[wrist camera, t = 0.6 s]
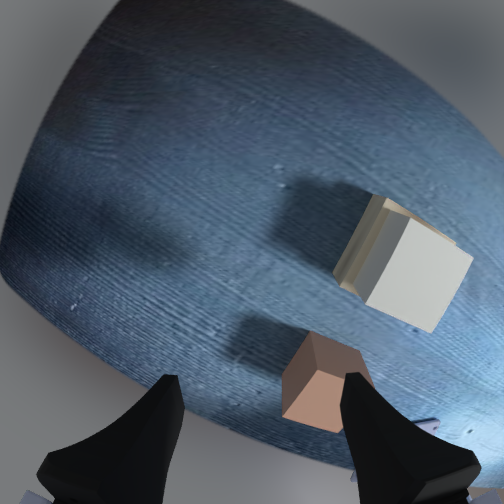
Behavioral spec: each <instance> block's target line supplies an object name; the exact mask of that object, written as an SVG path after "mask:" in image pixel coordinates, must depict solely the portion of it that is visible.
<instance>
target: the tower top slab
mask: <svg viewBox="0 0 504 504" xmlns="http://www.w3.org/2000/svg"><path fill="white" fill-rule="evenodd" d="M472 260H473V257H471V256H470V255H468V254H467V253H466V252H464V251H463V250H461V249H460V248H458V247H457V246H455V245H454V244H452V243H451V242H449V241H447V240H446V239H444V238H443V237H441V236H440V235H438V234H437V233H435V232H433V231H432V230H430V229H429V228H427V227H425V226H424V225H422V224H420V223H419V222H417V221H415V220H414V219H412V218H410V217H408V216H405V215H403V214H400V213H397V212H395V211H392V210H390V212H389V214H388V216H387V218H386V220H385V222H384V224H383V226H382V228H381V230H380V232H379V234H378V236H377V238H376V240H375V242H374V244H373V246H372V248H371V250H370V252H369V254H368V256H367V258H366V260H365V262H364V264H363V266H362V267H361V269H360V271H359V273H358V275H357V277H356V279H355V280H354V282H353V286H354V287H355V289H356V290H357V292H358V294H359V295H360V297H361V298H362V300H363V302H364V303H365V304H366V305H368V306H370V307H372V308H375V309H377V310H379V311H381V312H384V313H386V314H388V315H391V316H393V317H395V318H397V319H400V320H402V321H404V322H406V323H409V324H411V325H413V326H415V327H418V328H420V329H422V330H424V331H427V332H429V333H432V332H433V330H434V328H435V327H436V325H437V324H438V322H439V320H440V319H441V317H442V315H443V314H444V312H445V310H446V309H447V307H448V305H449V304H450V302H451V300H452V298H453V297H454V295H455V293H456V291H457V289H458V288H459V286H460V284H461V282H462V280H463V278H464V276H465V274H466V272H467V271H468V269H469V267H470V265H471V263H472Z"/></svg>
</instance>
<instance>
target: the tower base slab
mask: <svg viewBox="0 0 504 504" xmlns="http://www.w3.org/2000/svg"><path fill="white" fill-rule="evenodd" d="M390 210H392V211H395V212H397V213H400V214H403V215H405V216H408V217H410V218H412V219H414V220H415V221H417V222H419V223H420V224H422V225H424V226H425V227H427V228H429V229H430V230H432V231H433V232H435V233H437V234H438V235H440V236H441V237H443V238H444V239H446V240H447V241H449V242H451V243H452V244H454V245H456V243H455V242H454V241H453V240H451V239H450V238H448V237H447V236H446V235H444V234H443V233H441V232H440V231H438V230H437V229H435V228H434V227H432V226H431V225H429V224H428V223H426V222H425V221H423V220H422V219H420V218H419V217H417V216H416V215H414V214H412V213H411V212H409V211H408V210H406V209H405V208H403V207H401V206H400V205H398V204H397V203H395V202H393V201H392V200H390V199H388V198H386V197H382V196H379V195H375V194H373V196H372V198H371V200H370V202H369V204H368V206H367V208H366V210H365V212H364V214H363V216H362V218H361V220H360V222H359V223H358V225H357V227H356V229H355V231H354V233H353V235H352V237H351V239H350V241H349V243H348V244H347V246H346V248H345V250H344V252H343V254H342V256H341V257H340V259H339V261H338V263H337V265H336V266H335V268H334V270H333V272H332V273H333V275H334V277H335V279H336V281H337V283H338V284H339V286H340V287H342V288H344V289H346V290H348V291H350V292H352V293H354V294H356V295H358V296H360V295H359V294H358V292H357V290H356V289H355V287H354V286H353V282H354V280H355V279H356V277H357V275H358V273H359V271H360V269H361V267H362V266H363V264H364V262H365V260H366V258H367V256H368V254H369V252H370V250H371V248H372V246H373V244H374V242H375V240H376V238H377V236H378V234H379V232H380V230H381V228H382V226H383V224H384V222H385V220H386V218H387V216H388V214H389V212H390Z"/></svg>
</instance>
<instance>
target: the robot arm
mask: <svg viewBox="0 0 504 504" xmlns="http://www.w3.org/2000/svg"><path fill="white" fill-rule="evenodd" d="M184 409H185V406H184V402H183V398H182V393H181V389H180V385H179V380H178V376H177V375H167V374H164V375H163V376H162V377H161V378H160V379H159V380H158V381H157V382H156V383H155V384H154V385H153V386H152V388H151V389H150V390H149V391H148V392H147V393H146V394H145V395H144V396H143V397H142V398H141V399H140V400H139V401H138V402H137V403H136V404H135V405H134V406H132V407H131V408H130V409H129V410H128V411H127V412H126V413H125V414H123V415H122V416H121V417H120V418H118V419H117V420H116V421H115V422H113V423H112V424H110V425H109V426H107V427H106V428H104V429H103V430H101V431H100V432H98V433H96V434H94V435H92V436H90V437H89V438H87V439H85V440H83V441H80V442H78V443H76V444H73V445H71V446H68V447H66V448H63V449H60V450H56V451H53V452H50V453H48V455H47V456H46V458H45V459H44V461H43V463H42V465H41V466H40V468H39V470H38V472H37V474H36V475H37V478H38V480H39V481H40V483H41V484H42V485H43V486H44V487H45V488H46V489H47V490H48V491H49V492H50V494H51V495H53V496H54V498H55V500H54V502H53V503H52V502H50V501H49V500H47V499H45V498H43V497H41V496H39V495H37V494H35V493H33V492H31V491H29V490H26V492H25V494H24V496H23V498H22V500H21V502H20V504H162V503H163V496H164V489H165V483H166V478H167V472H168V468H169V465H170V461H171V458H172V455H173V452H174V449H175V446H176V443H177V439H178V436H179V433H180V430H181V427H182V421H183V415H184ZM340 412H341V419H342V424H343V428H344V432H345V435H346V438H347V442H348V445H349V448H350V452H351V455H352V458H353V462H354V466H355V470H354V472H353V474H352V477H351V482H358V489H359V497H360V504H502V502H501V500H500V498H499V495H498V493H497V491H496V489H493V490H491V491H489V492H487V493H485V494H483V495H481V496H479V497H477V498H475V499H473V500H472V499H471V497H470V495H469V493H468V490H467V488H468V487H469V486H470V484H471V483H472V482H473V481H474V480H475V479H476V478H477V476H478V475H479V473H480V471H481V465H480V463H479V461H478V459H477V457H476V456H475V454H474V452H473V451H472V450H468V449H465V448H462V447H459V446H456V445H453V444H451V443H448V442H446V441H444V440H442V439H439V438H437V437H435V436H434V435H435V433H436V431H437V429H438V427H439V425H440V423H441V422H440V420H439V419H436V420H431V421H426V422H420V423H412V422H411V421H410V420H408V419H407V418H406V417H404V416H403V415H402V414H401V413H399V412H398V411H397V410H396V409H395V408H394V407H393V406H391V405H390V404H389V403H388V402H387V401H386V400H385V399H384V398H383V397H382V396H381V395H380V394H379V393H378V392H377V391H376V390H375V388H374V387H373V386H372V385H371V384H370V383H369V382H368V381H367V380H366V379H365V377H364V376H363V375H362V374H361V373H360V372H353V373H346V375H345V380H344V386H343V391H342V396H341V401H340Z"/></svg>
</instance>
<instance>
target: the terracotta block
mask: <svg viewBox="0 0 504 504" xmlns="http://www.w3.org/2000/svg"><path fill="white" fill-rule="evenodd" d="M353 372H360V373H361V374H362V375H363V376H364V377H365V379H366V380H367V381H368V382H369V383H370V384H371V385H372V386H373V387H374V385H373V382H372V380H371V377H370V375H369V372H368V370H367V367H366V365H365V362H364V360H363V358H362V355H361V353H360V351H359V350H357V349H354V348H352V347H349V346H347V345H344V344H342V343H339V342H337V341H334V340H332V339H329V338H327V337H325V336H322V335H320V334H317V333H315V332H313V331H309V333H308V335H307V336H306V338H305V339H304V341H303V343H302V344H301V346H300V347H299V349H298V350H297V352H296V354H295V355H294V357H293V358H292V360H291V361H290V363H289V364H288V366H287V367H286V369H285V370H284V372H283V373H282V417H284V418H287V419H290V420H293V421H296V422H300V423H303V424H306V425H310V426H313V427H317V428H320V429H324V430H328V431H331V432H335V433H338V432H339V431H340V430H341V429H342V428H343V424H342V419H341V412H340V401H341V396H342V391H343V386H344V380H345V375H346V373H353ZM374 388H375V387H374Z"/></svg>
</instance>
